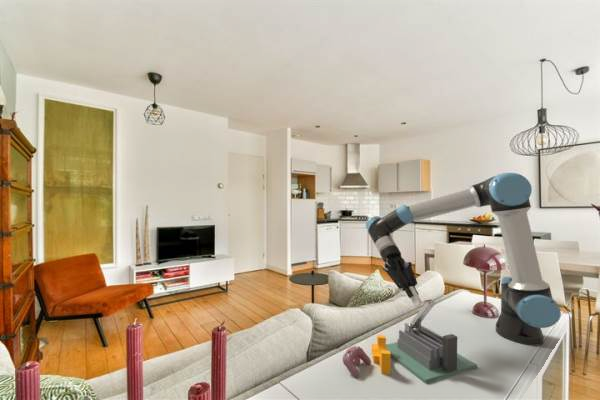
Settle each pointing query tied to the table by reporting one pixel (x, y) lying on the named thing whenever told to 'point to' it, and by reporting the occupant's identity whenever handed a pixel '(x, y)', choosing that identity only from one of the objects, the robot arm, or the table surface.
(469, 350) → the table surface
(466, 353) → the table surface
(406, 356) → the heat sink board
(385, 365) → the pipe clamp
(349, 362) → the video game controller
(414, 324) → the retention strap
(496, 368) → the table surface
